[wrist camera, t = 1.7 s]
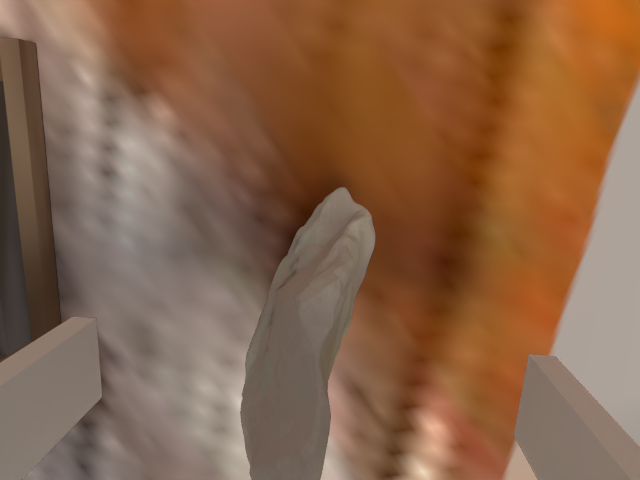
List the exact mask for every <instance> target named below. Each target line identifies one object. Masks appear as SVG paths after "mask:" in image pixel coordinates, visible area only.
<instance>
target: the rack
mask: <svg viewBox="0 0 640 480" xmlns="http://www.w3.org/2000/svg"><path fill="white" fill-rule="evenodd" d="M60 324H61V317H60V306H59V295H58V284H57V273H56V262H55V251H54V240H53V229H52V218H51V207H50V196H49V185H48V174H47V163H46V152H45V141H44V130H43V119H42V108H41V97H40V86H39V75H38V64H37V53H36V44H34V43H31V42H27V41H24V40H21V39H14V38H0V362H2V361H4V360H5V359H7V358H8V357H10V356H11V355H13V354H15V353H16V352H18V351H19V350H21V349H22V348H24V347H26V346H27V345H29V344H30V343H32V342H33V341H35V340H37V339H38V338H40V337H41V336H43V335H44V334H46V333H48V332H49V331H51V330H52V329H54V328H55V327H57V326H59V325H60Z"/></svg>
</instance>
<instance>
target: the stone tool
mask: <svg viewBox="0 0 640 480" xmlns="http://www.w3.org/2000/svg"><path fill="white" fill-rule="evenodd" d="M374 246H375V231H374V227H373V222H372V216H371V214H370V213H369V211H368V210H367V209H366V208H365V207H364V206H362V205H359V204H356V203H355V202H354V201H353V199H352V198H351V195H350V193H349V191H348V190H347V188H345V187H340V188H337V189H336V190H335V191H334V192H332V193H331V194H329V195H328V196H327V197H325V199H324V200H323V202H322V203H320V204H319V205H318V206H317V207H316V209H315V210H314V212H313V214H312V216H311V217H310V218H309V220H308V221H307V223H306V224H305V225H304V226H303V227H301V228H300V229H299V230H298V231H297V233H296V235H295V238H294V240H293V242H292V245H291V247H290V249H289V251H288V255H287V256H286V257H284V258H283V260H282V261H281V263H280V265H279V267H278V269H277V271H276V273H275V276H274V278H273V281H272V283H271V286H270V289H269V292H268V296H267V301H266V304H265V306H264V309H263V311H262V313H261V316H260V318H259V321H258V325H257V327H256V330H255V333H254V335H253V338H252V340H251V343H250V346H249V349H248V352H247V356H246V363H245V367H246V379H245V384H244V388H243V392H242V397H243V399H242V403H241V412H240V414H241V423H242V429H243V434H244V440H245V448H246V453H247V457H248V460H249V463H250V476H251V479H252V480H320V478H321V475H322V469H323V464H324V458H325V453H326V447H327V442H328V436H329V430H330V420H331V413H330V406H329V399H328V392H327V390H328V379H329V376H330V373H331V370H332V367H333V364H334V360H335V357H336V355H337V353H338V350H339V347H340V343H341V339H342V337H343V336H345V335H346V333H347V331H348V328H349V325H350V322H351V319H352V313H353V307H354V302H355V297H356V294H357V292H358V289H359V287H360V285H361V283H362V281H363V279H364V277H365V274H366V270H367V266H368V263H369V260H370V258H371V255H372V252H373V249H374Z"/></svg>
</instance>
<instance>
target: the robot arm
mask: <svg viewBox="0 0 640 480" xmlns="http://www.w3.org/2000/svg"><path fill="white" fill-rule="evenodd" d="M101 398H102V389H101V375H100V361H99V347H98V333H97V320H96V318H85V317H71V318H70V319H68V320H66V321H65V322H63V323H62V324H60V325H59V326H57V327H55V328H54V329H52V330H51V331H49V332H48V333H46V334H44V335H43V336H41V337H40V338H38V339H37V340H35V341H33V342H32V343H30V344H29V345H27V346H26V347H24V348H22V349H21V350H19V351H18V352H16V353H15V354H13V355H11V356H10V357H8V358H7V359H5V360H4V361H2V362H0V480H22V479H23V478H24V477H25V476H26V475H27V474H28V473H29V472H30V471H31V470H32V469H33V468H34V467H35V466H36V465H37V464H38V463H39V462H40V461H41V460H42V459H43V457H44V456H45V455H46V454H47V453H48V452H49V451H50V450H51V449H52V448H53V447H54V446H55V445H56V444H57V443H58V442H59V441H60V440H61V439H62V438H63V437H64V436H65V435H66V434H67V433H68V432H69V431H70V430H71V429H72V428H73V427H74V425H75V424H76V423H77V422H78V421H79V420H80V419H81V418H82V417H83V416H84V415H85V414H86V413H87V412H88V411H89V410H90V409H91V408H92V407H93V406H94V405H95V404H96V403H97V402H98V401H99V400H100V399H101ZM514 437H515V439H516V440H517V442H518V444H519V446H520V448H521V450H522V451H523V453H524V455H525V457H526V459H527V461H528V463H529V464H530V466H531V468H532V470H533V472H534V474H535V476H536V477H537V479H538V480H640V447H639V446H638V445H637V444H636V443H635V441H634V440H633V439H632V438H631V437H630V436H629V435H628V434H627V433H626V432H625V431H624V430H623V428H622V427H621V426H620V425H619V424H618V423H617V422H616V421H615V420H614V419H613V418H612V417H611V416H610V414H609V413H608V412H607V411H606V410H605V409H604V408H603V407H602V406H601V405H600V404H599V403H598V402H597V400H596V399H595V398H594V397H593V396H592V395H591V394H590V393H589V392H588V391H587V390H586V389H585V387H583V385H582V384H581V383H580V382H579V381H578V380H577V379H576V378H575V377H574V376H573V375H572V373H571V372H569V370H568V369H567V368H566V367H565V366H564V365H563V364H562V363H561V362H560V361H559V360H558V358H557V357H555V356H543V355H531V354H529V356H528V362H527V367H526V373H525V378H524V384H523V389H522V395H521V400H520V405H519V411H518V416H517V422H516V427H515V433H514Z"/></svg>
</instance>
